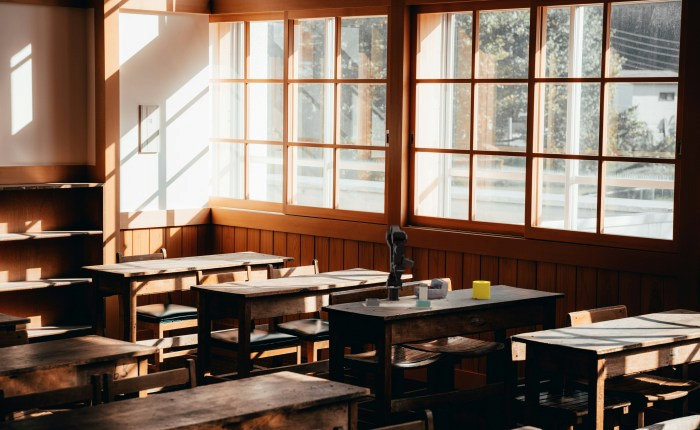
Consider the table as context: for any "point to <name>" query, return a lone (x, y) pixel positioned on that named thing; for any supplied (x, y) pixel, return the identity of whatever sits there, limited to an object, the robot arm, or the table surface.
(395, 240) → the robot arm
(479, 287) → the yellow cube
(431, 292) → the grey armchair
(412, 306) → the panel
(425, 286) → the plug
